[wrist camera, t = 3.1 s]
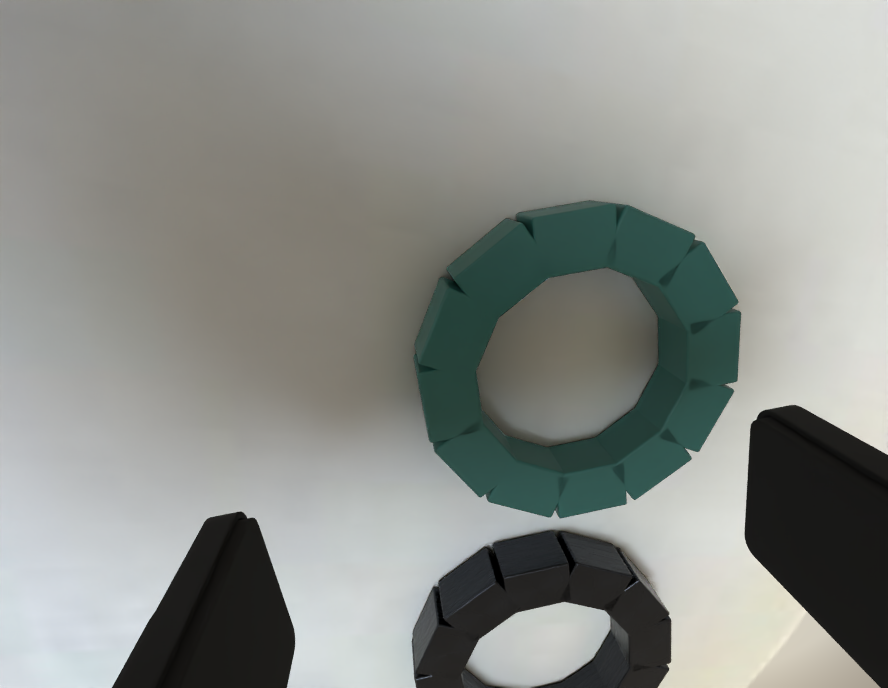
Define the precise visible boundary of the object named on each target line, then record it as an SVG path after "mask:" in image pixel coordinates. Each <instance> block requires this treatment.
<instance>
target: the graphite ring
mask: <svg viewBox="0 0 888 688" xmlns="http://www.w3.org/2000/svg"><path fill="white" fill-rule="evenodd" d="M493 549H494V555H493V554H492V553H491V552H490V551H489V550H488V549H487V548H484V549H482V550H481V551H480V552H478V553H477V554H476V555H474V556H473V557H472V558H470V559H469V560H468V561H466V562H465V563H464V564H462V565H461V566H459V567H458V568H457V569H455V570H454V571H453V572H451V573H450V574H449V575H447V576H446V577H445V578H443V579H442V580H440V581H439V583H438V584H439V589H438V588H433V589H432V592H431V594H430V596H429V598H428V600H427V603H426V605H425V607H424V609H423V611H422V613H421V616H420V618H419V620H418V622H417V624H416V627H415V629H414V631H413V639H412V650H413V665H414V679H415V683H416V687H417V688H496V687H490V686H485V685H484V684H483V683H482V682H481V681H479V680H478V679H477V678H476V677H474V676H473V675H472V674H471V673H470V672H468V671H467V670H466V669H465V666H466V664H467V662H468V660H469V658H470V656H471V654H472V652H473V650H474V648H475V646H476V644H477V642H478V640H479V639H480V638H481V637H483V636H484V635H486V634H487V633H488V632H490V631H491V630H493V629H494V628H495V627H497V626H498V625H500V624H501V623H502V622H504V621H505V620H507V619H508V618H509V617H511V616H512V615H514V614H515V613H516V612H521V611H525V610H530V609H534V608H539V607H543V606H547V605H552V604H556V603H561V602H568V603H573V604H578V605H582V606H587V607H592V608H596V609H601V610H605V611H606V612H607V613H608V614H609V615H610V616H611V627H612V630H611V632H610V633H609V635H608V637H607V638H606V640H605V642H604V643H603V645H602V647H601V648H600V650H599V652H598V653H597V655H596V657H595V658H594V660H593V661H592V662H591V663H590V664H588V665H587V666H585V667H584V668H582V669H581V670H579V671H578V672H576V673H575V674H573V675H572V676H570V677H569V678H568V679H566V680H565V681H563V682H561V683H556V684H552V685H548V686H544V687H540V688H658V686H659V684H660V683H661V681H662V680H663V678H664V677H665V675H666V674H667V672H668V671H669V667H668V666H667V664H669V663H671V619H670V617H669V616H668V615H669V612H668V610H667V609H666V607H665V606H664V604H663V603H662V601H661V600H660V598H659V597H658V595H657V594H656V592H655V591H654V589H653V588H652V586H651V585H650V583H649V582H648V580H647V579H646V578H645V577H644V576H643V574H642V573H641V572H640V571H639V570H638V569H637V568H636V566H635V565H634V564H633V563H632V562H631V561H630V560H629V558H628V557H627V556H626V555H625V554H624V553H623V552H622V550H621V549H620V548H618V547H617V548H616V549H615V547H614V546H613V545H612V544H611V543H607V542H603V541H599V540H595V539H591V538H587V537H583V536H579V535H575V534H571V533H567V532H563V531H561V532H560V533H559V535H558V537H557V538H556V536H555V534H554V532H553V531H549V532H544V533H540V534H535V535H530V536H526V537H521V538H517V539H512V540H507V541H503V542H498V543H494V544H493Z"/></svg>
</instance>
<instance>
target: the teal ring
mask: <svg viewBox="0 0 888 688" xmlns="http://www.w3.org/2000/svg"><path fill="white" fill-rule="evenodd" d="M516 219H517V221H514V220H511V219H508V218H506V219H505V220H503V221H502V222H501V223H500V224H498V225H497V226H496V227H495V228H494V229H492V230H491V231H490V232H489V233H488V234H486V235H485V236H484V237H483V238H482V239H480V240H479V241H478V242H477V243H476V244H474V245H473V246H472V247H471V248H470V249H468V250H467V251H466V252H465V253H464V254H462V255H461V256H460V257H459V258H458V259H456V260H455V261H454V262H453V263H452V264H450V265H449V266H448V267H447V271H448V272H449V274H450V275H451V276H452V278H453V279H454V281H453V280H450V279H447V278H445V277H441V278H440V279H439V281H438V284H437V286H436V289H435V291H434V294H433V297H432V299H431V302H430V304H429V307H428V310H427V312H426V315H425V318H424V320H423V323H422V325H421V328H420V331H419V333H418V336H417V339H416V341H415V349H416V354H415V355H414V363H415V368H416V374H417V379H418V384H419V389H420V395H421V400H422V405H423V411H424V416H425V421H426V426H427V432H428V437H429V441H430V442H432V443H433V446H434V451H435V453H436V454H437V455H438V456H439V457H440V458H441V459H442V460H443V461H444V462H445V463H446V464H447V465H448V466H449V467H450V468H451V469H452V470H453V471H454V472H455V473H456V474H457V475H458V476H459V477H460V478H461V479H462V480H463V481H464V482H465V483H466V484H467V485H468V486H469V487H470V488H471V489H472V490H473V491H474V492H475V493H476V494H477V495H478V496H479V497H482V496H484V495H485V494H486V497H487V500H488V501H489V502H491V503H495V504H499V505H503V506H507V507H510V508H514V509H518V510H522V511H526V512H530V513H534V514H538V515H542V516H545V517H551V516H552V515H553V513H554V511H556V513H557V514H558V516H559V518H564V517H569V516H574V515H578V514H583V513H588V512H592V511H597V510H602V509H606V508H611V507H616V506H620V505H625V504H626V503H627V502H626V491H627V492H628V494H629V495H630V496H631V497H632V498H633V499H634V500H636V499H637V498H639V497H640V496H641V495H643V494H644V493H646V492H647V491H648V490H650V489H651V488H653V487H654V486H655V485H657V484H658V483H660V482H661V481H662V480H664V479H665V478H666V477H668V476H669V475H671V474H672V473H673V472H675V471H676V470H678V469H679V468H680V467H682V466H683V465H685V464H686V463H687V462H689V461H690V460H691V459H692V458H691V456H690V455H689V453H688V452H687V450H686V449H685V448H687V449H690V450H693V451H696V452H699V451H700V449H701V447H702V445H703V444H704V442H705V440H706V439H707V437H708V435H709V434H710V432H711V430H712V428H713V427H714V425H715V423H716V422H717V420H718V418H719V416H720V415H721V413H722V411H723V410H724V408H725V406H726V405H727V403H728V401H729V399H730V398H731V396H732V394H733V393H734V390H733V389H732V388H730V387H729V386H727V385H725V384H728V383H733V382H736V381H737V378H738V359H739V341H740V322H741V312H740V311H738V310H735V309H732V308H733V307H734V306H735V305H737V304H738V300H737V298H736V296H735V295H734V293H733V291H732V290H731V288H730V286H729V284H728V283H727V281H726V279H725V278H724V276H723V274H722V272H721V271H720V269H719V267H718V265H717V264H716V262H715V260H714V259H713V257H712V255H711V253H710V252H709V250H708V248H707V246H706V245H705V243H704V242H702V241H697V240H694V239H695V235H694V234H693V233H691V232H689V231H687V230H684V229H682V228H680V227H677V226H675V225H673V224H671V223H668V222H666V221H664V220H661V219H659V218H657V217H654V216H652V215H650V214H648V213H645V212H643V211H641V210H638V209H636V208H634V207H632V206H629V205H623V204H615V203H607V202H598V201H584V202H578V203H573V204H567V205H561V206H555V207H549V208H544V209H538V210H532V211H526V212H520V213H518V214H517V215H516ZM606 267H608V268H610V269H613V270H615V271H618V272H620V273H623V274H625V275H628V276H630V277H632V278H633V279H634V281H635V282H636V284H637V285H638V287H639V288H640V290H641V291H642V293H643V294H644V296H645V297H646V299H647V300H648V302H649V303H650V305H651V306H652V308H653V309H654V311H655V312H656V314H657V315H658V366H657V368H656V370H655V371H654V373H653V375H652V377H651V379H650V381H649V383H648V385H647V386H646V388H645V390H644V392H643V394H642V396H641V398H640V400H639V401H638V403H637V405H636V407H635V408H634V409H633V410H632V411H630V412H629V413H628V414H626V415H625V416H624V417H622V418H621V419H620V420H618V421H617V422H616V423H614V424H613V425H612V426H610V427H609V428H608V429H606V430H605V431H604V432H602V433H601V434H600V435H598V436H597V437H596V438H591V439H586V440H581V441H576V442H571V443H566V444H562V445H557V446H552V447H544V446H540V445H537V444H534V443H530V442H527V441H523V440H520V439H516V438H513V437H510V436H506V435H504V433H503V432H502V431H501V430H500V429H499V428H498V427H497V426H496V425H495V423H494V422H493V421H492V420H491V419H490V418H489V417H488V416H487V414H486V413H485V412H484V411H483V410H482V409H481V402H480V395H479V388H478V381H477V374H476V370H477V368H478V365H479V363H480V361H481V358H482V356H483V354H484V351H485V349H486V347H487V344H488V342H489V340H490V337H491V335H492V332H493V330H494V328H495V325H496V323H497V321H498V318H499V317H500V316H502V315H503V314H504V313H505V312H507V311H508V310H509V309H510V308H512V307H513V306H514V305H515V304H517V303H518V302H519V301H520V300H522V299H523V298H524V297H525V296H526V295H528V294H529V293H530V292H531V291H533V290H534V289H535V288H536V287H538V286H539V285H540V284H541V283H543V282H544V281H545V280H546V279H548V278H551V277H557V276H562V275H568V274H573V273H579V272H584V271H590V270H595V269H601V268H606Z"/></svg>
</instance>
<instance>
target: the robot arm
mask: <svg viewBox="0 0 888 688" xmlns="http://www.w3.org/2000/svg"><path fill="white" fill-rule="evenodd" d="M745 540H746V544H747V546H748V548H749V550H750V552H751V553H752V554H753V556H754V557H755V558H756V559H757V560H758V561H759V562H760V563H761V564H762V565H763V566H764V567H765V568H766V569H767V570H768V571H769V572H770V573H771V574H772V575H773V577H774V578H775V579H776V580H777V581H778V582H779V583H780V584H781V585H782V586H783V587H784V588H785V589H786V590H787V591H788V592H789V593H790V594H791V595H792V596H793V597H794V598H795V599H796V600H797V601H798V602H799V604H800V605H801V606H802V607H803V608H804V609H805V610H806V611H807V612H808V613H809V614H810V615H811V616H812V617H813V618H814V619H815V620H816V621H817V622H818V623H819V624H820V625H821V626H822V627H823V628H824V629H825V630H826V631H827V633H828V634H829V635H830V636H831V637H832V638H833V639H834V640H835V641H836V642H837V643H838V644H839V645H840V646H841V647H842V648H843V649H844V650H845V651H846V652H847V653H848V654H849V655H850V656H851V657H852V658H853V659H854V660H855V662H857V664H858V665H859V666H860V667H861V668H862V669H863V670H864V671H865V672H866V673H867V674H868V675H869V676H870V677H871V678H872V679H873V680H874V681H875V682H876V683H877V684H878V685H879V686H880V687H881V688H888V455H887V454H885V453H883V452H881V451H879V450H878V449H876V448H874V447H872V446H870V445H869V444H867V443H865V442H863V441H861V440H860V439H858V438H856V437H854V436H852V435H850V434H849V433H847V432H845V431H843V430H841V429H840V428H838V427H836V426H834V425H832V424H831V423H829V422H827V421H825V420H823V419H822V418H820V417H818V416H816V415H814V414H812V413H811V412H809V411H807V410H805V409H803V408H802V407H799V406H796V405H789V406H784V407H779V408H774V409H769V410H764V411H762V412H760V413H759V415H758V416H757V420H755V421H753V423H752V424H751V428H750V446H749V464H748V482H747V500H746V518H745ZM294 649H295V633H294V628H293V624H292V622H291V619H290V616H289V613H288V610H287V607H286V604H285V601H284V598H283V595H282V592H281V589H280V586H279V583H278V581H277V578H276V575H275V572H274V569H273V566H272V563H271V560H270V557H269V554H268V551H267V548H266V545H265V542H264V539H263V537H262V534H261V531H260V528H259V525H258V522H257V520H256V519H255V518H248V519H247V517H246V515H245V514H244V513H243V512H236V513H231V514H225V515H220V516H215V517H210V518H208V519H207V520H206V521H205V522H204V524H203V526H202V528H201V530H200V531H199V533H198V535H197V537H196V539H195V540H194V542H193V544H192V546H191V548H190V550H189V551H188V553H187V555H186V557H185V559H184V560H183V562H182V564H181V566H180V568H179V570H178V571H177V573H176V575H175V577H174V579H173V580H172V582H171V584H170V586H169V588H168V590H167V591H166V593H165V595H164V597H163V599H162V600H161V602H160V604H159V606H158V608H157V610H156V611H155V613H154V614H153V616H152V617H151V618H150V620H149V622H148V624H147V625H146V627H145V629H144V631H143V633H142V634H141V636H140V638H139V640H138V642H137V643H136V645H135V647H134V649H133V651H132V652H131V654H130V656H129V658H128V660H127V662H126V663H125V665H124V667H123V669H122V671H121V672H120V674H119V676H118V678H117V680H116V681H115V683H114V685H113V687H112V688H287V684H288V679H289V674H290V669H291V665H292V660H293V655H294Z"/></svg>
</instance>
